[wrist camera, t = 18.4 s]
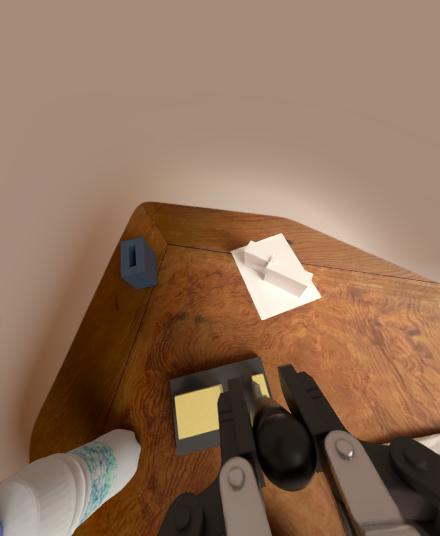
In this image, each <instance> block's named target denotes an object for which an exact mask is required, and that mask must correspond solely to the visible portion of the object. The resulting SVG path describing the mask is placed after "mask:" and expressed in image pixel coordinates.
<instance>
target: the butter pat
mask: <svg viewBox="0 0 440 536" xmlns="http://www.w3.org/2000/svg"><path fill="white" fill-rule="evenodd" d="M251 378H252V381H255V382H256V383H258V384H259V385H260V388H261V392H262V396H263V395H267V397H269V393H268V390H267V387H266V383H265V380H264V376H263V374H257V375H253V376H251ZM269 398H270V397H269Z"/></svg>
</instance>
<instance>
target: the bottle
mask: <svg viewBox="0 0 440 536" xmlns="http://www.w3.org/2000/svg"><path fill="white" fill-rule="evenodd" d="M140 452H141V446H140V444H139V443H138V442H137V440H136V438H135V433H134V432H133V431H130V430H123V429H116V430H112V431H110V432H108V433H106V434H104V435H102V436H100V437H99V438H97V439H95V440H94V441H92V442H90V443H87V444H85V445H83V446H81V447H78V448H76V449H74V450H71V451H69V452H67V453H65V454H63V453H59V454H53V455H50V456H48V457H46V458H41V459H38V460H36V461H34V462H32V463H31V464H29V465H28V466H26V467H25V468H23V469H21V470H20V471H18V472H16V473H15V474H13V475H12V476H10V477H8V478H6V479H5V480H3V481H1V482H0V536H71V535H72V534H73V532H74V530H75V529H76V528H77V527H78V526H79V525H80V524H81V523H83V522H84V521H85V520H86V519H87V518H88V517H89V516H90V515H91V514H92V513H93V512H95V511H96V510H97V509H98V508H99V507H100V506H101V505H102V504H103V503H104V502H105V501H107V500H108V499H110V498H111V497H112V496H114V495H115V494H116V493H118V492H119V491H120V490H121V489H122V488H123V487H124V486H125V485H126V484H127V483H128V482H129V481H130V479H131V478H132V477H133V475H134V474H135V472H136V470H137V467H138V459H139V455H140Z"/></svg>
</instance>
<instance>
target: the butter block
mask: <svg viewBox="0 0 440 536" xmlns="http://www.w3.org/2000/svg"><path fill="white" fill-rule="evenodd" d="M222 392H223V389H222V384H219V385H215V386H211V387H207V388H204V389H200V390H196V391H192V392H188V393H184V394H181V395H178V396H175V397H174V398H175V407H176V417H177V426H178V436H179V439H183V438H186V437H190V436H194V435H198V434H202V433H205V432H209V431H213V430H217V429H219V421H218V408H217V402H218V398H219V395H220V393H222Z"/></svg>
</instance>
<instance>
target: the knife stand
mask: <svg viewBox="0 0 440 536" xmlns="http://www.w3.org/2000/svg"><path fill="white" fill-rule="evenodd" d="M121 278H123V279H124V280H125V281H127V282H128V283H129V284H130V285H132V286H133V287H134V288H135V289H137V290H138V289H142V288H146V287H150V286H154V285H158V280H157V269H156V259H155V253H154V251H153V250H152V249H151V247H150V246H149V244H148V243H147V242H146V240H145V239H144V238H143V237H139V238H135V239H131V240H127V241H123V242H121Z"/></svg>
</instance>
